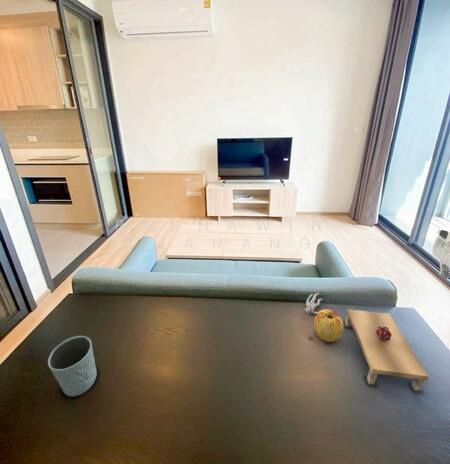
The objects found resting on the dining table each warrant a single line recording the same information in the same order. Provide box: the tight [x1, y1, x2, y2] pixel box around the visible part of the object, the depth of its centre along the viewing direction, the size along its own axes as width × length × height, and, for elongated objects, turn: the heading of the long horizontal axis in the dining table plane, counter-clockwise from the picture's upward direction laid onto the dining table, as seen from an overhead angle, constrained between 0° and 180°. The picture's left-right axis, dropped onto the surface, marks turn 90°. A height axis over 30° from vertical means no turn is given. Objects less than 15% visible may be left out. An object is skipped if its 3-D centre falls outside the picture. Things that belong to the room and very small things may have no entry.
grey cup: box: [47, 335, 98, 397], centre depth 68 cm, size 10×10×12 cm
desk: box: [344, 308, 429, 392], centre depth 78 cm, size 14×22×6 cm, turn 172°
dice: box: [376, 326, 392, 341], centre depth 76 cm, size 4×4×4 cm
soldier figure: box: [303, 292, 324, 315], centre depth 96 cm, size 8×5×12 cm
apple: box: [313, 308, 344, 343], centre depth 83 cm, size 9×9×10 cm
